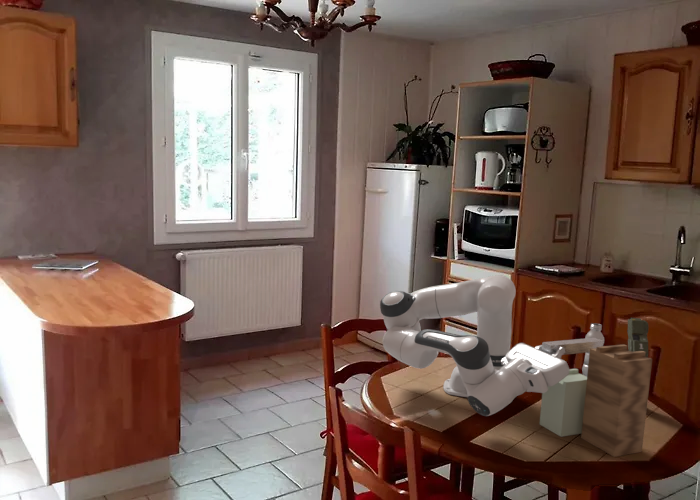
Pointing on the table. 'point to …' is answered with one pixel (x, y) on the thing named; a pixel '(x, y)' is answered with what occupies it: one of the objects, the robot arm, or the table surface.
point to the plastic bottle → (593, 333)
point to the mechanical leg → (637, 335)
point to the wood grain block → (616, 399)
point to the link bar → (572, 345)
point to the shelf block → (564, 405)
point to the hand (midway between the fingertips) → (557, 346)
